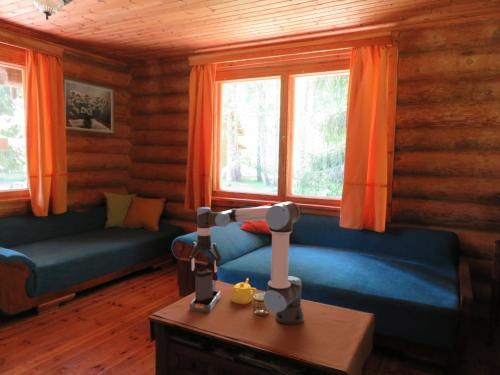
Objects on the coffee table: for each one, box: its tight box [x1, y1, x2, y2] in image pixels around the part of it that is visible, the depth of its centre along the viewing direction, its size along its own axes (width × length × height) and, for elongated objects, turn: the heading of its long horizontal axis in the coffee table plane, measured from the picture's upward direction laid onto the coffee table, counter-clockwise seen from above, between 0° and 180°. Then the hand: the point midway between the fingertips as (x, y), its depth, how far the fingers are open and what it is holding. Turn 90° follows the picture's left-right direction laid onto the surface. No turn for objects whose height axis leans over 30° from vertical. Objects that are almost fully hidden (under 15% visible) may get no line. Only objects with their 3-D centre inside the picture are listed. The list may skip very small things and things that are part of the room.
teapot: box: [230, 277, 257, 305], centre depth 221 cm, size 22×16×11 cm
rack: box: [189, 279, 222, 314], centre depth 215 cm, size 12×23×11 cm, turn 169°
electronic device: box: [194, 268, 214, 305], centre depth 211 cm, size 9×6×20 cm, turn 130°
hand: (204, 270), depth 209 cm, fingers open, 13 cm apart
